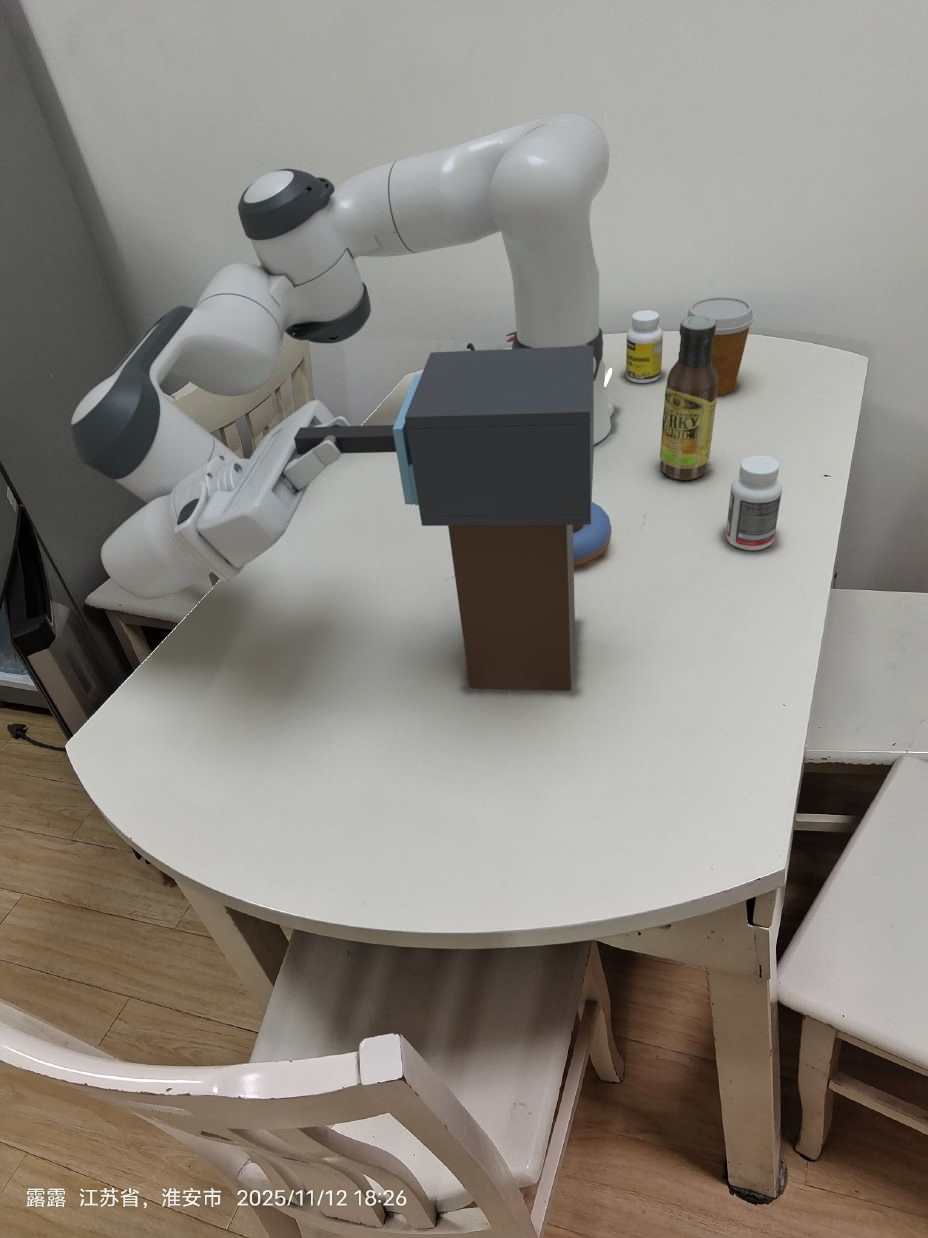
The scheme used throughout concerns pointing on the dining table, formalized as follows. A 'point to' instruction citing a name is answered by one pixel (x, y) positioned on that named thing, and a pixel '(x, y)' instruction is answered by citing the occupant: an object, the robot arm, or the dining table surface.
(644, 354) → the supplement bottle
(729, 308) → the disposable coffee cup
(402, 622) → the dining table surface
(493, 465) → the dispenser
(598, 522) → the doughnut
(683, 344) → the sauce bottle
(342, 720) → the dining table surface
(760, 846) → the dining table surface
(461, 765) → the dining table surface
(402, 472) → the tray
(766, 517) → the pill bottle
